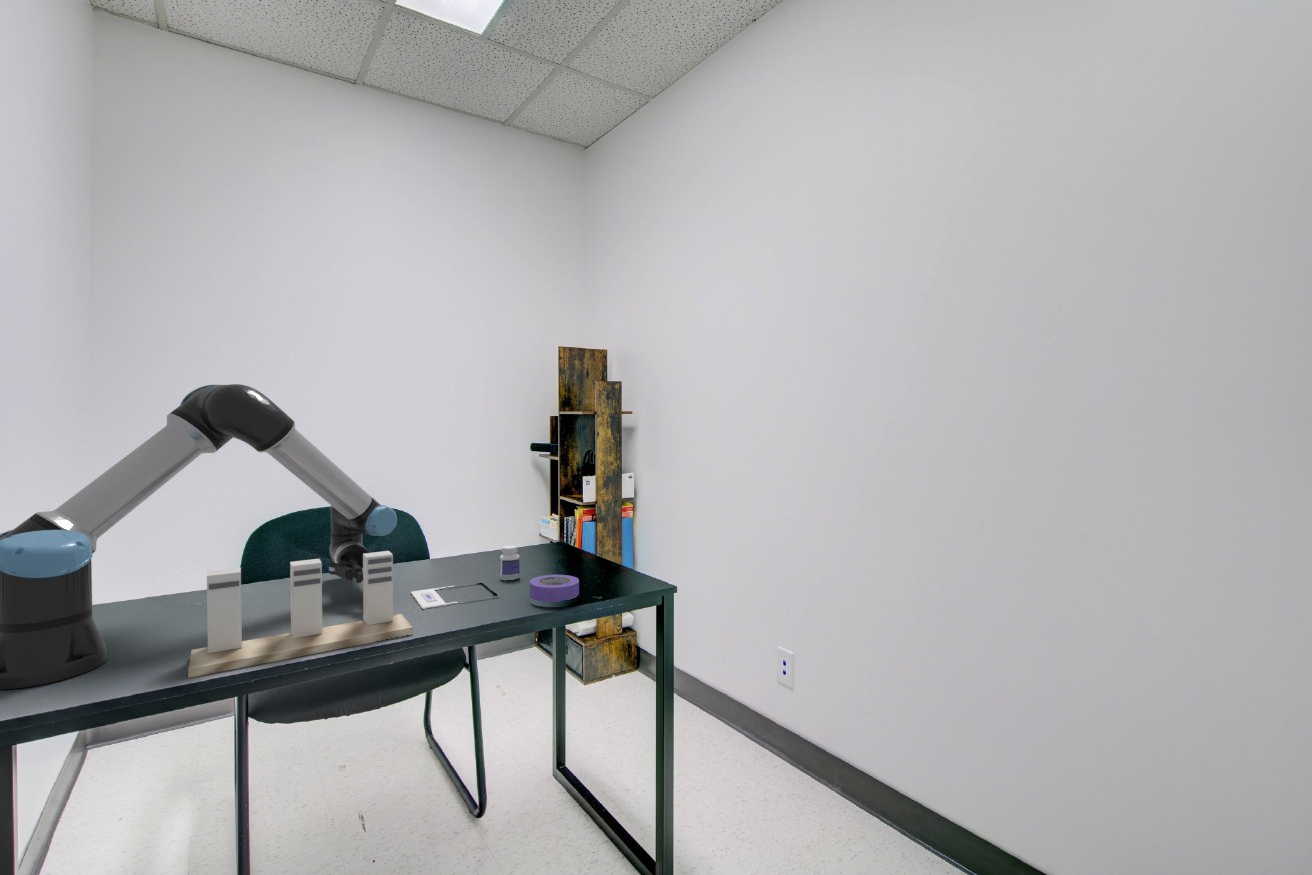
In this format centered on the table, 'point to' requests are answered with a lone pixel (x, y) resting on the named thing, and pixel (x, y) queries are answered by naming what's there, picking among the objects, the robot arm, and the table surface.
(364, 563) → the tile
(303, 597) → the white tall block
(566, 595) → the tape roll
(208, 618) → the tile
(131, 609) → the table surface
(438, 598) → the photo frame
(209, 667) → the key base
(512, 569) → the pill bottle
